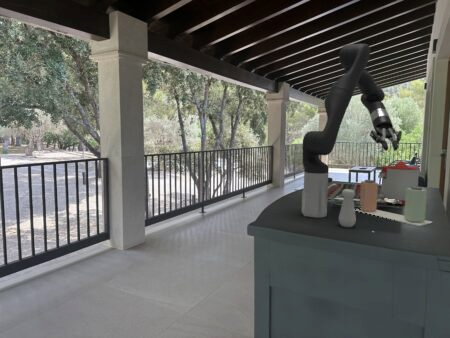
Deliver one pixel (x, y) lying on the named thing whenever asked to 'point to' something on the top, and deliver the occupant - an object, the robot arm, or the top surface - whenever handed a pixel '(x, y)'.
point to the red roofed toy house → (398, 180)
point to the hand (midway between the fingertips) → (391, 149)
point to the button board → (393, 217)
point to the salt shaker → (347, 209)
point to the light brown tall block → (368, 195)
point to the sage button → (415, 204)
